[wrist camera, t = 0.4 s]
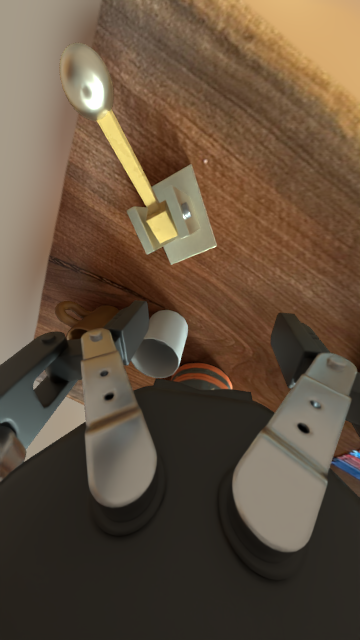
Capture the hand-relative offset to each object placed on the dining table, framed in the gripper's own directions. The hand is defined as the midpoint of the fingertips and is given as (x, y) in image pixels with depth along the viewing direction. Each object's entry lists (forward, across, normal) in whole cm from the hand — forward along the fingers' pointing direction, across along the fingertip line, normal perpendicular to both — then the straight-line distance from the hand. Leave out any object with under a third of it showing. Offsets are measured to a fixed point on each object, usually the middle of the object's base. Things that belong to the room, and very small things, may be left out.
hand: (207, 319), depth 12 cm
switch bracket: (+22, +6, -5) cm, 23 cm away
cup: (+22, +8, +15) cm, 28 cm away
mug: (+22, +22, +13) cm, 34 cm away
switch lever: (+10, +8, -10) cm, 16 cm away
